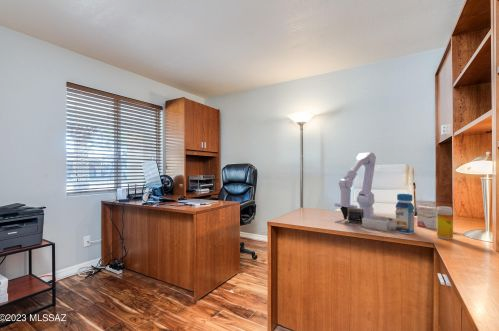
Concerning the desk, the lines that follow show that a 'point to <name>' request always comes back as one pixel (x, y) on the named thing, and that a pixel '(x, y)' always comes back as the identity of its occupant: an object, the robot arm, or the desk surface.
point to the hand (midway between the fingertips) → (345, 219)
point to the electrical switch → (355, 215)
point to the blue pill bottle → (404, 214)
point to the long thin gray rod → (341, 220)
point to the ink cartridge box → (426, 214)
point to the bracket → (379, 223)
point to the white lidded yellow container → (444, 222)
